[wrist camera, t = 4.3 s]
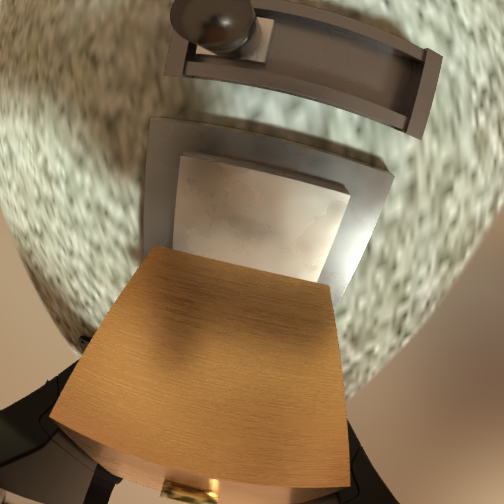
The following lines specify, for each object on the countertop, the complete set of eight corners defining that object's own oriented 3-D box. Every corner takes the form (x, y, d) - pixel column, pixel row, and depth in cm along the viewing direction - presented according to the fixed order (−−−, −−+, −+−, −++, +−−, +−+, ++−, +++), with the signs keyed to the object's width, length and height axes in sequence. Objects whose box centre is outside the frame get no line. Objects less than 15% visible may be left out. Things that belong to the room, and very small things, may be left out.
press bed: (321, 324, 19) (324, 362, 16) (149, 285, 18) (130, 317, 16) (389, 171, 13) (413, 193, 10) (156, 116, 12) (125, 125, 10)
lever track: (402, 132, 12) (421, 140, 10) (181, 76, 11) (163, 75, 9) (421, 59, 9) (442, 56, 7) (198, 2, 9) (183, -12, 7)
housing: (329, 285, 9) (350, 504, 3) (281, 379, 11) (270, 519, 6) (155, 245, 8) (41, 433, 3) (157, 350, 11) (108, 483, 6)
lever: (265, 66, 10) (252, 49, 6) (201, 58, 10) (153, 41, 6) (275, 23, 9) (268, -18, 5) (211, 15, 9) (170, -22, 5)
